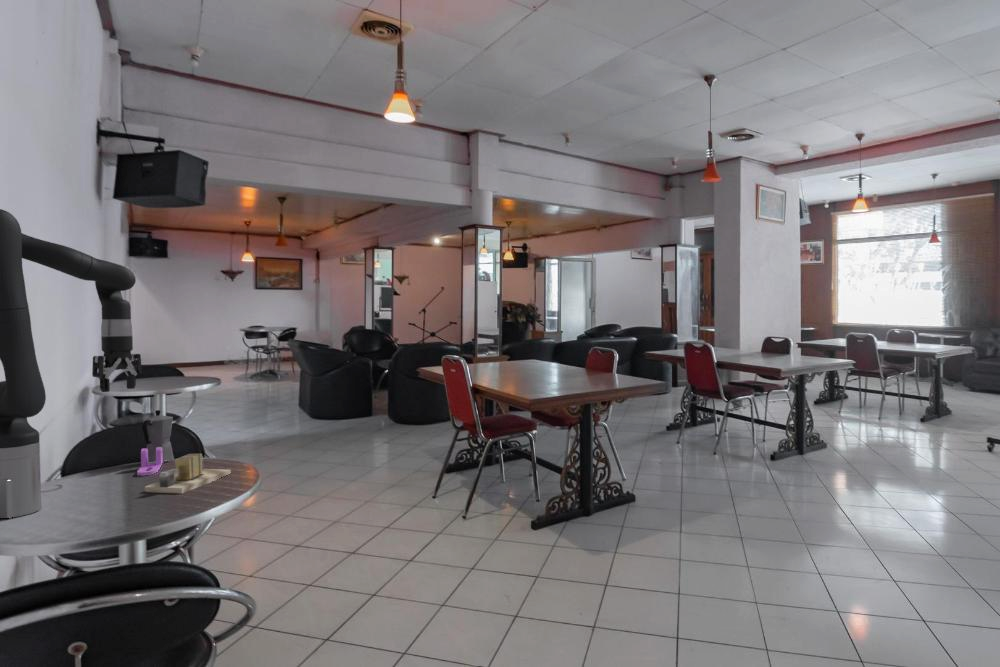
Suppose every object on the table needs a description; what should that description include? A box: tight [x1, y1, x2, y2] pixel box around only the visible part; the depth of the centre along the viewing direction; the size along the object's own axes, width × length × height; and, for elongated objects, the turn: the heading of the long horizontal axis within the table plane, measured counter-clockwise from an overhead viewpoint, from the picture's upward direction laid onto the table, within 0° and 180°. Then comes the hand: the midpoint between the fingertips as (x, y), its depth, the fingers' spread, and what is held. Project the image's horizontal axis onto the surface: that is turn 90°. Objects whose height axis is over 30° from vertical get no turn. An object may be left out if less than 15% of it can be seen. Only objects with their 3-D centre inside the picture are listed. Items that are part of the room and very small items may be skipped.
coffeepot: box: [141, 409, 175, 462], centre depth 190 cm, size 15×9×18 cm, turn 4°
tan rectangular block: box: [174, 453, 203, 480], centre depth 162 cm, size 7×4×6 cm, turn 1°
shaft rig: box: [144, 456, 232, 494], centre depth 162 cm, size 20×12×6 cm, turn 169°
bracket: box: [136, 447, 164, 477], centre depth 177 cm, size 13×6×7 cm, turn 24°
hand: (118, 390), depth 161 cm, fingers open, 8 cm apart
